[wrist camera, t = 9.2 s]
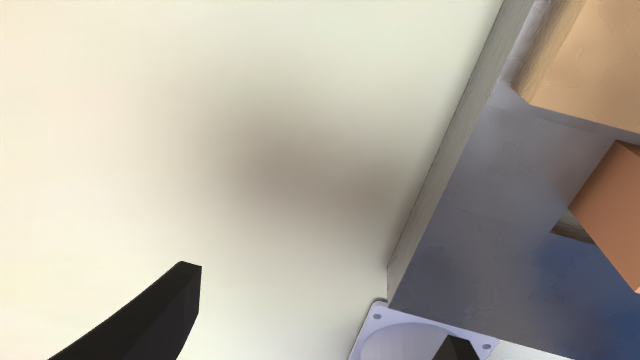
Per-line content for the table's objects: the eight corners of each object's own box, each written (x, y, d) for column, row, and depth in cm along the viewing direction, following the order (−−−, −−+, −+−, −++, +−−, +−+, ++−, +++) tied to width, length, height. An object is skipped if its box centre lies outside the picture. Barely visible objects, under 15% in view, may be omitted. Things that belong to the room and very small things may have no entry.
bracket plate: (619, 331, 21) (680, 422, 17) (386, 267, 21) (388, 342, 17) (969, -8, 12) (1298, 3, 8) (554, -115, 12) (649, -162, 8)
